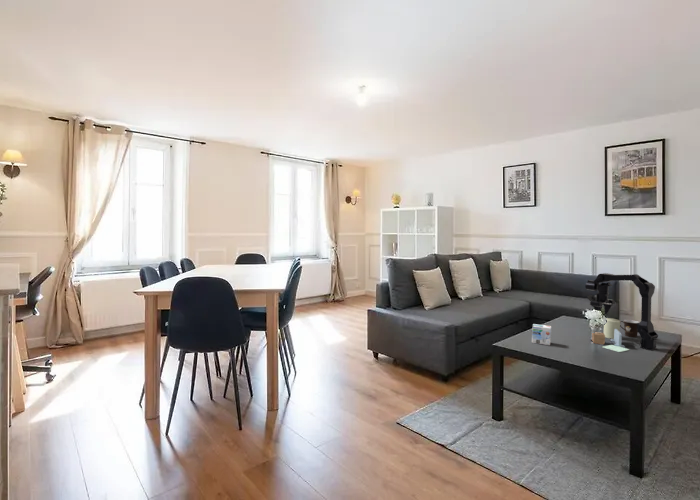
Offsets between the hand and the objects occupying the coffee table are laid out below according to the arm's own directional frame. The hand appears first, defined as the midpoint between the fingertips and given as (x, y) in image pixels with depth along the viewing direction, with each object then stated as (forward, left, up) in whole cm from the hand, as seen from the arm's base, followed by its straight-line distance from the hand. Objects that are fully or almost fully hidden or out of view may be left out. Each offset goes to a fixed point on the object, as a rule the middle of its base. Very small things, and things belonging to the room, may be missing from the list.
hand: (601, 315), depth 255 cm
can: (-4, -5, -15) cm, 16 cm away
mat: (-20, +18, -14) cm, 30 cm away
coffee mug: (-7, -20, -15) cm, 26 cm away
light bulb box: (+7, +49, -15) cm, 52 cm away
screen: (-15, +8, -14) cm, 22 cm away
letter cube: (-8, +16, -15) cm, 23 cm away
